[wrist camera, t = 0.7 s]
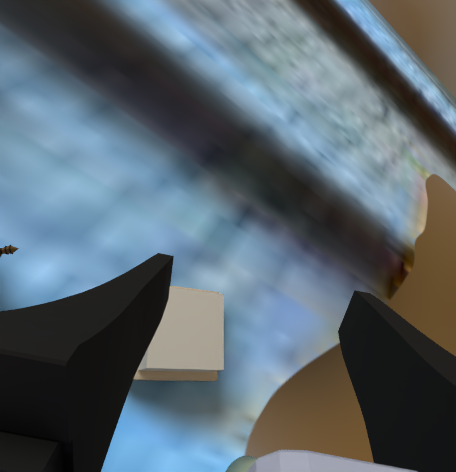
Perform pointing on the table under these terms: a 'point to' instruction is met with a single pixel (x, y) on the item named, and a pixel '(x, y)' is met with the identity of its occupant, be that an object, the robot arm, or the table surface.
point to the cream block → (188, 334)
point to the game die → (8, 250)
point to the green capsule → (241, 464)
